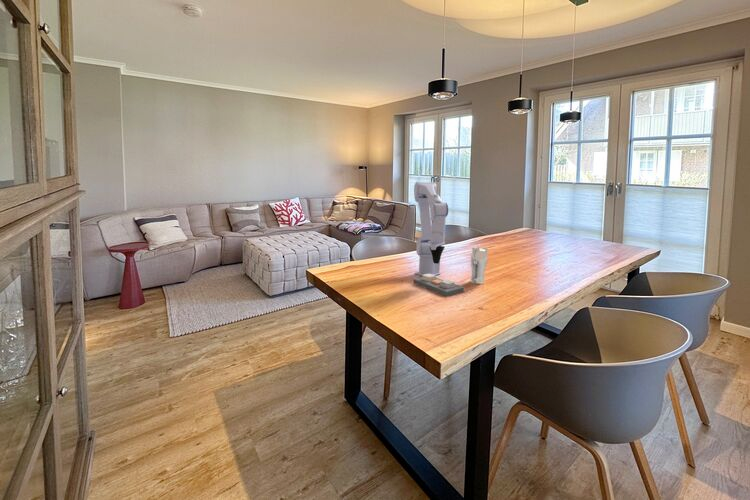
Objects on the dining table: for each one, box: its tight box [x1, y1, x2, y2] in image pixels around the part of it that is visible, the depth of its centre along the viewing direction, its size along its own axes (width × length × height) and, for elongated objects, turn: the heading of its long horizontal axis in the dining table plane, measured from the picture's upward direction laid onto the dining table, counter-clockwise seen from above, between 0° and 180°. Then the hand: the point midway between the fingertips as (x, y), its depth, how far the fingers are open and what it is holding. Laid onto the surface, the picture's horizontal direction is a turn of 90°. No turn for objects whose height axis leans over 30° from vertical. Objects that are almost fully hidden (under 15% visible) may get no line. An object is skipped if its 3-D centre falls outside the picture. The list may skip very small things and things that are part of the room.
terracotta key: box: [431, 278, 443, 285], centre depth 157 cm, size 4×4×2 cm
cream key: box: [421, 274, 437, 282], centre depth 161 cm, size 4×4×2 cm
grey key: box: [440, 279, 456, 289], centre depth 152 cm, size 4×4×2 cm
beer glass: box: [469, 247, 489, 285], centre depth 164 cm, size 7×7×15 cm
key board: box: [412, 276, 465, 297], centre depth 157 cm, size 10×20×2 cm, turn 35°
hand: (436, 263), depth 160 cm, fingers closed
